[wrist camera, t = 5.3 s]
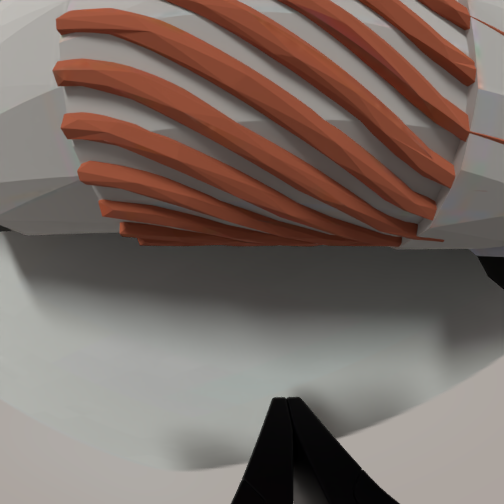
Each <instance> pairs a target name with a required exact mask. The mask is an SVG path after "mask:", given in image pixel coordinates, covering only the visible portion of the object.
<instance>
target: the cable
mask: <svg viewBox="0 0 504 504" xmlns="http://www.w3.org/2000/svg"><path fill="white" fill-rule="evenodd" d="M0 231H16V232H19V233H21V234H24V235H26V236H28V235H54V234H84V233H120V235H121V236H122V237H133V238H137V239H138V242H139V245H140V246H205V245H227V246H277V245H282V246H308V247H309V246H318V245H328V246H389V247H391V248H393V249H395V250H406V249H469V250H470V251H471V252H473V253H474V254H475V255H476V256H478V258H479V260H480V262H481V264H482V266H483V267H484V269H485V271H486V273H487V275H488V277H490V278H491V279H492V280H493V281H494V282H496V283H497V284H498V285H499V286H500V287H502V288H503V289H504V0H0Z"/></svg>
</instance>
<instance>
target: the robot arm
mask: <svg viewBox="0 0 504 504" xmlns="http://www.w3.org/2000/svg"><path fill="white" fill-rule="evenodd" d="M293 501H294V504H399V503H398V502H397V501H396V500H394V499H393V498H392V497H391V496H390V495H388V494H387V493H386V492H385V491H384V490H383V489H381V488H380V487H379V486H378V485H377V484H376V483H375V482H374V481H373V480H372V479H371V478H370V477H369V476H368V474H367V473H366V472H365V471H364V470H362V468H361V467H360V466H359V465H358V464H357V462H356V461H355V460H354V459H353V458H352V457H351V456H350V455H349V454H348V453H347V451H346V450H345V449H344V448H343V447H342V446H341V445H340V443H339V442H338V441H337V440H336V439H335V438H334V437H333V435H332V434H331V433H330V432H329V431H328V430H327V428H326V427H325V426H324V425H323V424H322V423H321V421H320V420H319V419H318V418H317V417H316V416H315V414H314V413H313V412H312V411H311V410H310V408H309V407H308V406H307V405H306V404H305V402H304V401H303V400H302V399H301V398H300V397H288V398H285V397H274V398H273V399H272V401H271V404H270V406H269V409H268V412H267V415H266V418H265V420H264V423H263V426H262V429H261V431H260V434H259V437H258V439H257V442H256V445H255V447H254V450H253V453H252V455H251V458H250V460H249V463H248V465H247V468H246V470H245V473H244V476H243V478H242V481H241V483H240V485H239V487H238V490H237V492H236V494H235V496H234V498H233V500H232V503H231V504H293Z"/></svg>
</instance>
